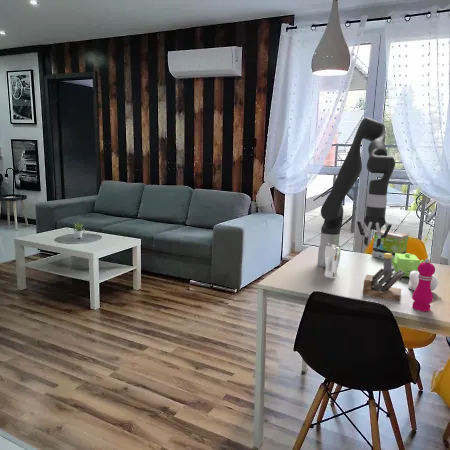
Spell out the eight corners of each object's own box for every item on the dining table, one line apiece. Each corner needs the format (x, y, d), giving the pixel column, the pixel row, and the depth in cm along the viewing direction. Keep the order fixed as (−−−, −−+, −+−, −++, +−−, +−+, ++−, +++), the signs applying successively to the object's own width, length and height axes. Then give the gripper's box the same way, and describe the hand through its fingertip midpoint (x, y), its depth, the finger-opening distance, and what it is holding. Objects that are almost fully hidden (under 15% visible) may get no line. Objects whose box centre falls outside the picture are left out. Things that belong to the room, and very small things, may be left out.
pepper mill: (407, 304, 165) (413, 255, 161) (424, 304, 166) (431, 256, 162) (417, 312, 158) (423, 261, 154) (435, 312, 159) (442, 261, 155)
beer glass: (339, 275, 198) (342, 245, 195) (336, 279, 192) (339, 248, 189) (324, 273, 201) (327, 243, 198) (321, 277, 195) (324, 246, 192)
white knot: (399, 286, 187) (401, 266, 185) (425, 286, 188) (427, 267, 186) (412, 295, 176) (414, 275, 174) (439, 295, 177) (442, 275, 175)
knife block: (362, 294, 174) (365, 268, 172) (365, 288, 182) (367, 263, 180) (401, 301, 168) (404, 274, 166) (402, 294, 176) (405, 268, 174)
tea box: (371, 256, 234) (374, 231, 231) (380, 254, 241) (382, 228, 238) (397, 263, 223) (400, 236, 220) (405, 260, 230) (409, 233, 227)
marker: (383, 282, 173) (383, 254, 171) (383, 280, 176) (384, 252, 174) (391, 283, 172) (391, 254, 170) (391, 281, 174) (392, 253, 172)
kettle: (409, 282, 192) (412, 259, 190) (382, 274, 203) (385, 252, 201) (427, 277, 200) (430, 255, 198) (400, 269, 212) (403, 248, 210)
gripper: (395, 205, 171) (390, 246, 174) (359, 202, 177) (355, 242, 180) (394, 208, 164) (389, 250, 167) (357, 204, 170) (352, 245, 173)
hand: (371, 246), depth 174 cm, fingers open, 3 cm apart
